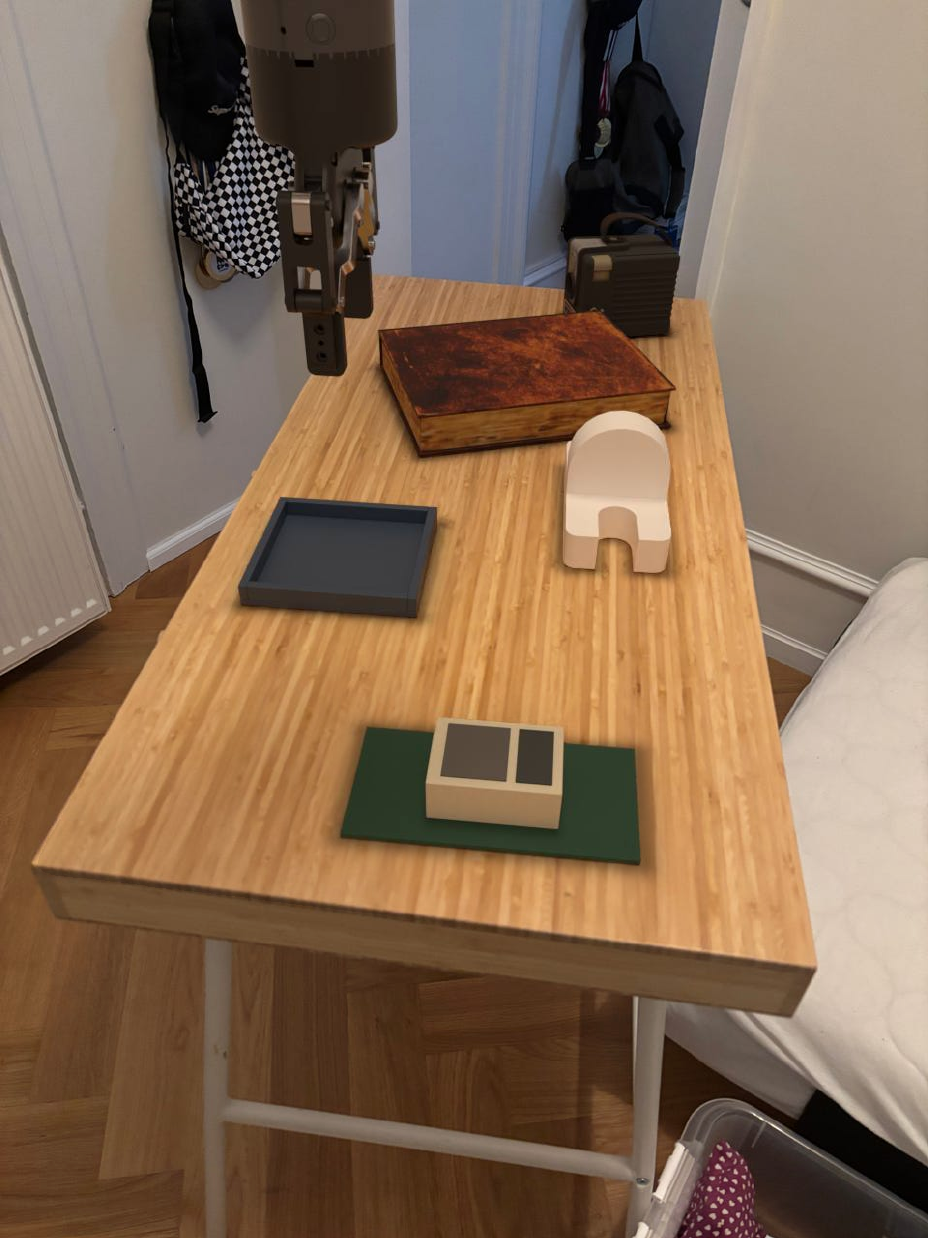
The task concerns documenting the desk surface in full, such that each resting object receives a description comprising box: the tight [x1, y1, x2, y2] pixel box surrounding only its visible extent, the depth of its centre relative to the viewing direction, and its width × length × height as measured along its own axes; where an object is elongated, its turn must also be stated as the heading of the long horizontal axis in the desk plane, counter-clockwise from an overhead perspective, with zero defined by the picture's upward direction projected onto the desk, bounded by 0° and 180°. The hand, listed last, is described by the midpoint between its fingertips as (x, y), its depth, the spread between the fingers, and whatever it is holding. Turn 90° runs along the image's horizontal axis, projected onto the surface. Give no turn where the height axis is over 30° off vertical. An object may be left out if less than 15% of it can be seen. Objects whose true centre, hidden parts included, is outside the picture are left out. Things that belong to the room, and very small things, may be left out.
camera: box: [562, 211, 681, 338], centre depth 127 cm, size 11×14×15 cm
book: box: [377, 310, 677, 459], centre depth 113 cm, size 30×24×5 cm
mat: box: [339, 726, 641, 865], centre depth 66 cm, size 20×10×1 cm, turn 84°
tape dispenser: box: [562, 411, 672, 574], centre depth 90 cm, size 10×18×11 cm, turn 175°
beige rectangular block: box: [426, 716, 565, 829], centre depth 65 cm, size 9×6×4 cm
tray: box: [237, 496, 438, 618], centre depth 87 cm, size 16×15×2 cm
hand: (342, 343), depth 57 cm, fingers open, 8 cm apart
